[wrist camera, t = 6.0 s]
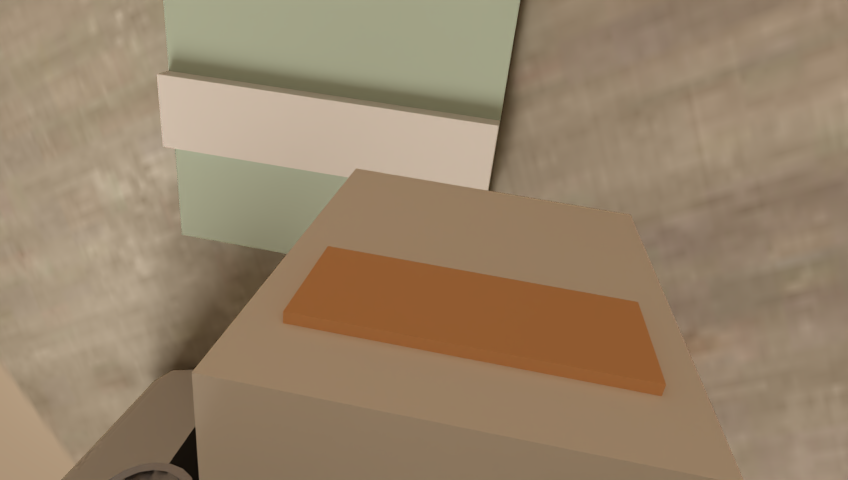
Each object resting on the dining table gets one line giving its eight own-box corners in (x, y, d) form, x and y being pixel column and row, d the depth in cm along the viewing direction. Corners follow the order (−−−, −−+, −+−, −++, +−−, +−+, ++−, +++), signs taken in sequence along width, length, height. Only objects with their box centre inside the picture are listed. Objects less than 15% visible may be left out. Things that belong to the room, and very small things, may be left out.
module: (633, 207, 10) (752, 472, 5) (537, 520, 14) (546, 870, 9) (356, 160, 11) (191, 360, 5) (333, 476, 14) (220, 784, 9)
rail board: (521, -6, 25) (520, -5, 23) (473, 280, 31) (470, 297, 29) (169, -51, 27) (145, -52, 25) (189, 228, 33) (171, 242, 31)
